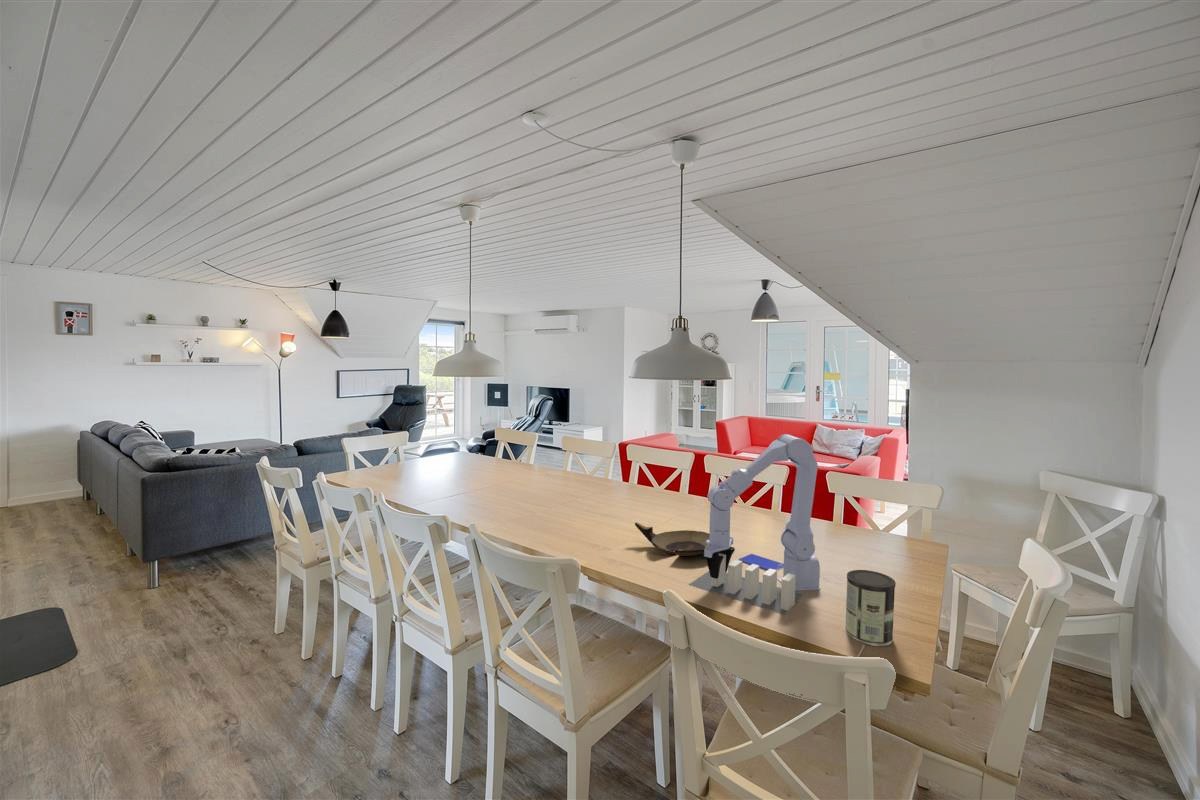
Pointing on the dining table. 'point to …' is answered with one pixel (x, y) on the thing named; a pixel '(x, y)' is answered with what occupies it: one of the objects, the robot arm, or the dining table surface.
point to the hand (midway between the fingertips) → (718, 574)
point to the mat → (742, 593)
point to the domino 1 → (720, 573)
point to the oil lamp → (677, 541)
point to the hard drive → (761, 562)
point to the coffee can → (870, 607)
